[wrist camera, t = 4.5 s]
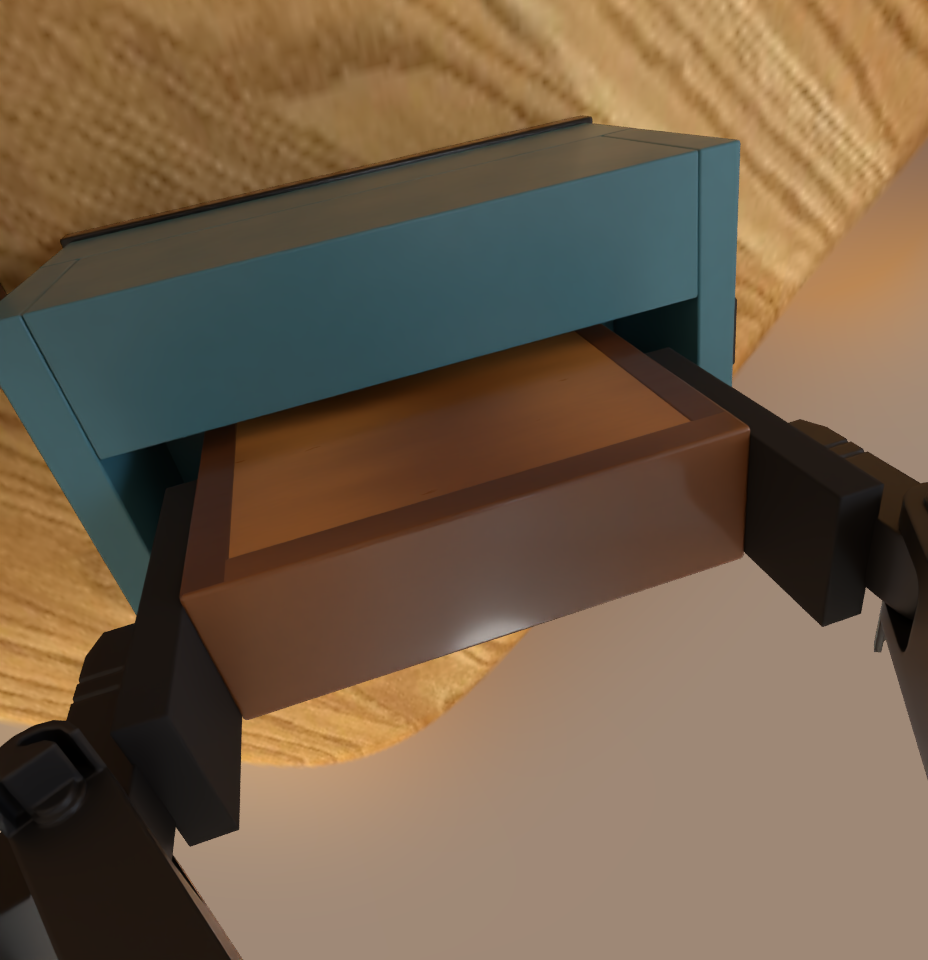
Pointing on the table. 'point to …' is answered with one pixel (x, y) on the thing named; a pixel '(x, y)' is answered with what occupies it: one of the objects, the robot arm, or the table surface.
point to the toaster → (356, 297)
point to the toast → (453, 512)
